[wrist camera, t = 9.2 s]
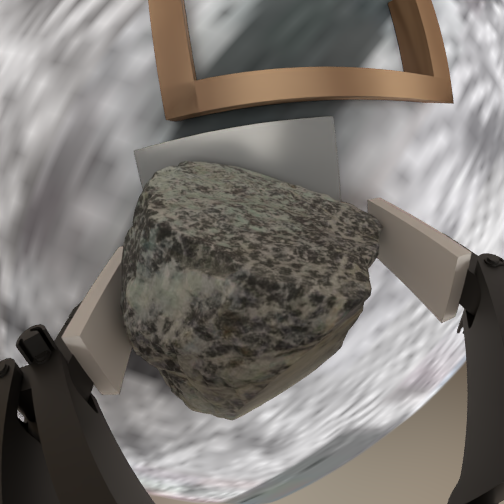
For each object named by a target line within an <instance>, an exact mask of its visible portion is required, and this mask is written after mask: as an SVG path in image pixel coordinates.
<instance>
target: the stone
mask: <svg viewBox="0 0 504 504" xmlns="http://www.w3.org/2000/svg"><path fill="white" fill-rule="evenodd" d="M382 228H383V226H382V225H381V224H380V223H379V221H378V220H377V218H375V217H373V216H372V215H371V214H368V213H366V212H364V211H362V210H359V209H358V208H357V207H355V206H354V205H351V204H349V203H345V202H339V201H336V200H334V199H332V198H331V197H330V196H329V195H327V194H321V193H317V192H313V191H309V190H307V189H305V188H303V187H301V186H298V185H292V184H289V183H287V182H283V181H280V180H277V179H274V178H271V177H269V176H266V175H263V174H261V173H257V172H254V171H250V170H247V169H244V168H240V167H235V166H227V165H222V164H216V163H207V162H192V161H184V162H181V163H179V165H178V166H168V167H166V168H163V169H161V170H158V171H157V172H155V173H154V174H153V176H152V177H151V178H150V179H149V181H148V182H147V183H146V184H145V186H144V187H143V191H142V194H141V195H140V197H139V200H138V202H137V206H136V209H135V212H134V217H133V226H132V227H131V228H130V230H129V231H128V233H127V236H126V238H125V242H124V246H123V252H122V260H121V265H122V274H121V300H120V306H121V310H122V316H123V319H124V328H125V330H126V332H127V335H128V338H129V341H130V343H131V345H132V347H133V349H134V350H135V352H136V354H137V355H139V356H142V358H143V359H144V360H145V361H147V362H148V363H150V364H151V365H152V366H154V367H156V368H157V369H158V370H159V372H160V374H161V376H162V377H163V378H164V380H165V382H166V384H167V385H168V386H169V387H170V388H171V391H172V392H173V393H174V394H175V395H176V396H177V397H179V398H180V399H181V400H183V402H184V403H185V405H186V406H187V407H189V408H190V409H191V410H193V411H197V412H201V413H206V414H212V415H214V416H216V417H219V418H225V419H229V420H234V419H237V418H239V417H241V416H243V415H245V414H246V413H248V412H250V411H252V410H253V409H255V408H257V407H259V406H261V405H262V404H264V403H265V402H267V401H269V400H270V399H272V398H274V397H276V396H277V395H279V394H280V393H282V392H284V391H285V390H287V389H288V388H290V387H291V386H293V385H294V384H296V383H297V382H299V381H300V380H302V379H303V378H305V377H306V376H307V375H309V374H310V373H312V372H313V371H314V370H316V369H317V368H318V367H319V366H320V365H322V364H323V363H324V362H325V361H326V360H327V359H329V358H330V357H331V356H332V355H334V354H335V353H336V352H337V351H338V350H339V349H340V348H341V347H342V344H343V341H344V339H345V337H346V334H347V332H348V330H349V329H350V328H351V327H352V326H353V324H354V323H355V322H356V320H357V319H358V317H359V315H360V314H361V312H362V311H363V305H364V302H365V300H367V299H368V298H369V296H370V294H371V289H372V288H371V284H370V280H369V272H368V268H369V267H370V266H371V265H372V263H373V262H374V261H375V259H376V258H377V256H378V254H379V247H380V243H379V242H378V240H379V233H380V232H381V230H382Z"/></svg>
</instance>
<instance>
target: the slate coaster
mask: <svg viewBox="0 0 504 504" xmlns="http://www.w3.org/2000/svg"><path fill="white" fill-rule="evenodd" d="M134 155H135V159H136V164H137V168H138V172H139V176H140V180H141V184H142V188H143V187H144V186H145V184H146V183H147V182H148V181H149V179H150V178H151V177H152V176H153V174H154V173H155V172H157V171H158V170H161V169H163V168H166V167H168V166H178V165H179V163H181V162H184V161H192V162H207V163H216V164H222V165H227V166H235V167H240V168H244V169H247V170H250V171H254V172H257V173H261V174H263V175H266V176H269V177H271V178H274V179H277V180H280V181H283V182H287V183H289V184H292V185H298V186H301V187H303V188H305V189H307V190H309V191H313V192H317V193H321V194H327V195H329V196H330V197H331V198H332V199H334V200H336V201H339V202H341V195H340V180H339V167H338V156H337V146H336V137H335V128H334V120H333V116H329V117H314V118H302V119H292V120H283V121H275V122H267V123H260V124H253V125H246V126H240V127H234V128H228V129H223V130H217V131H212V132H207V133H202V134H198V135H193V136H189V137H184V138H180V139H176V140H172V141H168V142H164V143H160V144H156V145H153V146H149V147H145V148H142V149H138V150H135V151H134Z"/></svg>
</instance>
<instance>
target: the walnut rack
mask: <svg viewBox="0 0 504 504" xmlns="http://www.w3.org/2000/svg"><path fill="white" fill-rule="evenodd" d="M148 3H149V12H150V21H151V29H152V37H153V44H154V51H155V58H156V65H157V71H158V77H159V83H160V89H161V95H162V101H163V106H164V112H165V117H166V120H170V121H180V120H184V119H189V118H193V117H198V116H203V115H208V114H213V113H218V112H223V111H229V110H235V109H241V108H248V107H255V106H263V105H271V104H280V103H290V102H302V101H318V100H348V99H367V100H396V101H411V102H422V103H453V94H452V87H451V80H450V73H449V68H448V62H447V57H446V52H445V48H444V43H443V39H442V35H441V31H440V27H439V24H438V20H437V17H436V14H435V10H434V7H433V4H432V1H431V0H393V1H391V2H389V3H388V6H389V9H390V13H391V16H392V20H393V23H394V27H395V31H396V35H397V40H398V44H399V49H400V54H401V59H402V64H403V69H404V72H401V71H393V70H383V69H371V68H355V67H298V68H281V69H269V70H259V71H250V72H243V73H235V74H229V75H223V76H217V77H211V78H206V79H201V80H197V79H196V73H195V67H194V61H193V56H192V49H191V43H190V37H189V31H188V25H187V18H186V12H185V5H184V0H148ZM453 104H454V103H453Z"/></svg>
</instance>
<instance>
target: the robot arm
mask: <svg viewBox="0 0 504 504" xmlns="http://www.w3.org/2000/svg"><path fill="white" fill-rule="evenodd" d="M367 202H368V214H371V215H372V216H373V217H375V218H377V220H378V221H379V223H380V224H381V225H382V226H383V228H382V230H381V232H380V233H379V240H378V242H379V243H380V247H379V254H378V256H377V258H378V259H379V260H380V261H381V262H382V263H383V264H384V265H385V266H386V267H387V268H388V269H389V270H390V271H391V272H392V273H394V274H395V275H396V276H397V277H398V278H399V279H400V280H401V281H402V282H403V283H404V284H405V285H406V286H407V287H408V288H409V289H410V290H411V291H412V292H413V293H414V294H415V295H416V296H417V297H418V298H419V300H420V301H421V302H422V303H423V304H424V305H425V306H426V307H427V308H428V309H429V310H430V311H431V312H432V313H433V314H434V315H435V316H436V317H437V319H438V320H439V321H440V322H441V323H443V322H445V321H447V320H450V319H452V318H454V317H455V316H456V313H457V310H458V306H459V304H460V305H461V306H463V307H464V311H463V315H462V318H461V320H460V323H459V326H458V329H457V333H460V330H461V328H462V327H463V328H464V331H463V334H464V337H465V347H466V360H467V383H468V406H467V408H468V409H467V427H466V440H465V449H464V457H463V464H462V471H461V476H460V479H459V481H458V484H457V485H456V487H455V488H454V490H453V492H452V494H451V496H450V498H449V501H448V504H498V503H499V502H501V501H503V500H504V260H503V259H502V258H500V257H498V256H496V255H493V254H481V255H479V256H477V255H476V254H474V253H473V252H471V251H470V250H469V249H467V248H466V247H464V246H463V245H461V244H459V243H458V242H456V241H455V240H453V239H452V238H450V237H449V236H447V235H445V234H443V233H441V232H439V231H438V230H436V229H434V228H433V227H431V226H429V225H428V224H426V223H424V222H423V221H421V220H419V219H418V218H416V217H414V216H412V215H411V214H409V213H407V212H405V211H404V210H402V209H400V208H398V207H396V206H395V205H393V204H391V203H389V202H387V201H385V200H383V199H381V198H375V199H368V200H367ZM122 252H123V246H122V247H119V248H118V249H117V250H116V252H115V253H114V255H113V256H112V257H111V259H110V260H109V262H108V263H107V265H106V266H105V268H104V269H103V270H102V272H101V273H100V275H99V276H98V278H97V279H96V281H95V282H94V284H93V286H92V287H91V289H90V290H89V292H88V293H87V295H86V297H85V298H84V300H83V301H82V302H81V303H80V304H78V305H77V306H76V307H75V308H74V309H73V311H72V313H71V314H70V316H69V319H67V321H66V322H65V325H64V326H63V328H62V329H61V331H60V333H59V334H58V336H57V338H56V340H55V342H54V341H53V339H52V338H51V336H50V334H49V333H48V331H47V329H46V328H45V326H44V325H41V324H40V325H35V326H32V327H30V328H29V329H27V330H26V331H24V332H23V333H22V334H21V335H20V337H19V338H18V340H17V342H16V347H17V348H18V350H19V351H20V353H21V354H22V355H23V357H24V358H25V360H26V361H27V362H28V364H29V365H27V366H24V367H21V368H20V367H19V366H18V365H17V363H16V362H15V361H14V359H12V358H8V359H5V360H2V361H0V504H155V503H154V502H153V501H152V499H151V497H150V496H149V494H148V493H147V492H146V490H145V489H144V487H143V486H142V484H141V483H140V481H139V479H138V478H137V476H136V475H135V473H134V472H133V470H132V468H131V467H130V465H129V463H128V462H127V460H126V458H125V456H124V455H123V453H122V451H121V449H120V447H119V446H118V444H117V442H116V440H115V438H114V436H113V434H112V432H111V430H110V428H109V426H108V424H107V422H106V420H105V418H104V416H103V414H102V411H101V409H100V407H99V405H98V402H97V400H96V398H95V397H94V396H93V395H92V393H91V391H92V387H93V384H94V385H95V387H96V388H97V389H98V390H99V392H100V393H101V394H102V395H116V394H120V390H121V386H122V382H123V378H124V375H125V371H126V367H127V363H128V360H129V356H130V353H131V349H132V345H131V343H130V341H129V338H128V335H127V332H126V330H125V328H124V319H123V316H122V310H121V306H120V300H121V274H122V265H121V260H122ZM17 410H18V411H19V412H20V413H21V414H22V415H23V416H24V417H25V420H24V422H22V421H21V420H20V419H19V418H18V417H17Z"/></svg>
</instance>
